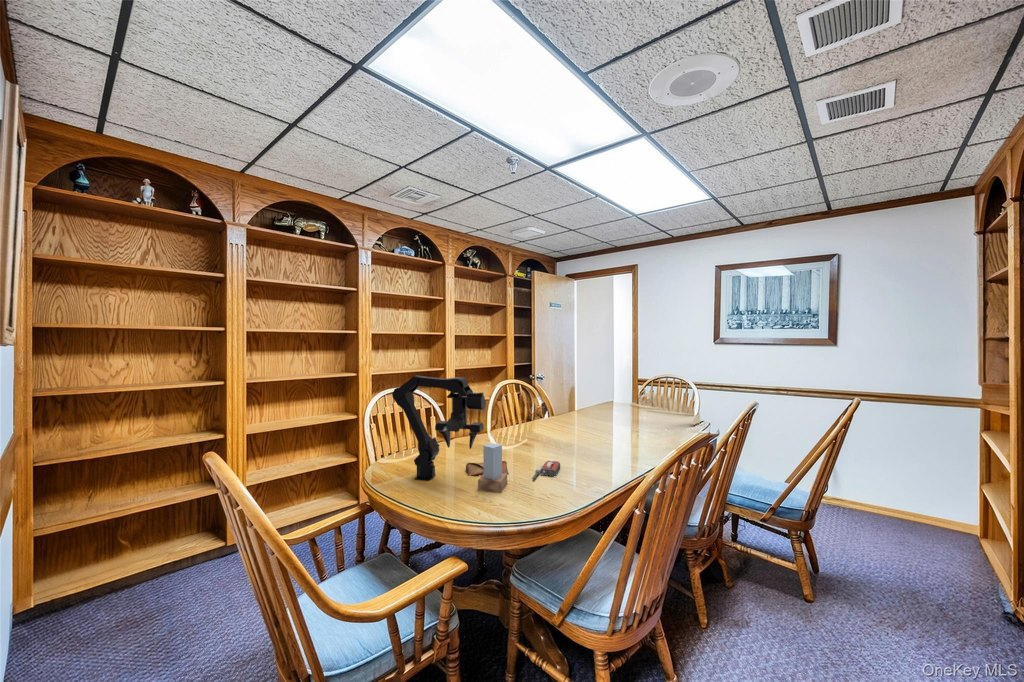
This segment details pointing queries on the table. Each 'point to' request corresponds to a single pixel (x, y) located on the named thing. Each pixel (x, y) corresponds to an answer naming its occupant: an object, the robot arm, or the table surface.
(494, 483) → the walnut base
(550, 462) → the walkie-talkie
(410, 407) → the robot arm
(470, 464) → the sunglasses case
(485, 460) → the slate block
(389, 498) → the table surface
